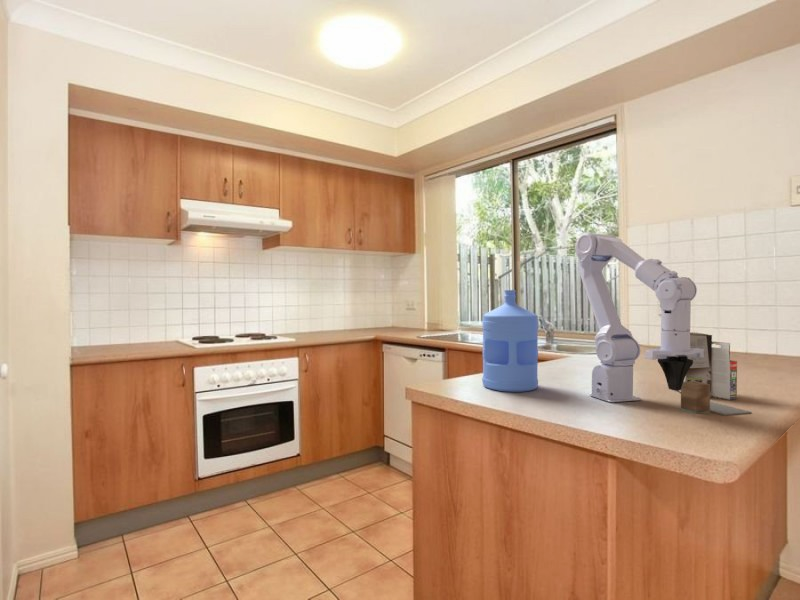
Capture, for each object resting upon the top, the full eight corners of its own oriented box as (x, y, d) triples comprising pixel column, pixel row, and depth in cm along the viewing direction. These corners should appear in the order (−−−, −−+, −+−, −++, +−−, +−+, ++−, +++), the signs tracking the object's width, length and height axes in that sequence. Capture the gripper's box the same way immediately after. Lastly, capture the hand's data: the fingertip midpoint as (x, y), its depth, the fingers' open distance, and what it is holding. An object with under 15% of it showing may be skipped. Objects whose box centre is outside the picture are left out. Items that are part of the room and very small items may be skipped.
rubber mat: (724, 415, 100) (724, 414, 100) (684, 404, 110) (684, 403, 110) (751, 413, 103) (751, 411, 103) (710, 402, 112) (710, 401, 112)
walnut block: (695, 413, 102) (696, 385, 102) (680, 409, 106) (681, 381, 106) (709, 412, 103) (710, 384, 103) (694, 408, 107) (694, 380, 107)
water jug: (480, 380, 139) (480, 290, 139) (532, 381, 138) (533, 290, 137) (484, 392, 124) (484, 290, 123) (543, 393, 122) (543, 290, 121)
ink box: (705, 392, 123) (706, 339, 123) (737, 398, 116) (738, 342, 116) (697, 394, 122) (697, 340, 122) (729, 400, 115) (730, 343, 114)
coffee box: (712, 396, 118) (713, 335, 118) (685, 395, 119) (686, 334, 119) (696, 389, 127) (697, 331, 127) (671, 388, 128) (672, 331, 128)
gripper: (664, 332, 97) (663, 395, 97) (716, 331, 101) (715, 391, 101) (638, 329, 104) (638, 388, 104) (688, 328, 108) (688, 385, 108)
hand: (674, 389), depth 103 cm, fingers closed
